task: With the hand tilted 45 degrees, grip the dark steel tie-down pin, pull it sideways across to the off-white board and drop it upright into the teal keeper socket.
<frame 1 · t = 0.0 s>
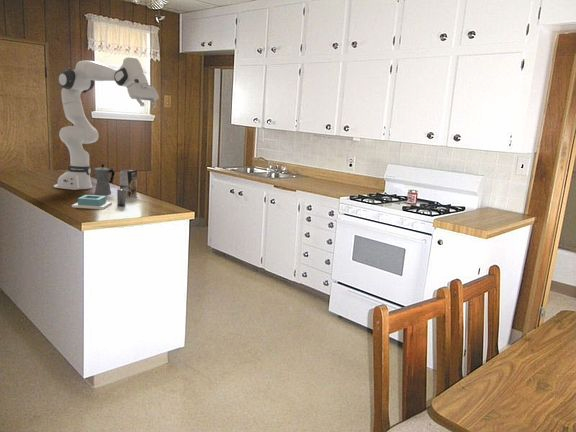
hand: (148, 106, 262), 54 cm above the table, tool tilted 30°, fingers open, 8 cm apart
coffee box: (128, 196, 280), on the table
coffeepot: (104, 193, 283), on the table
steel pin: (121, 206, 252), on the table
keeper board: (92, 205, 247), on the table
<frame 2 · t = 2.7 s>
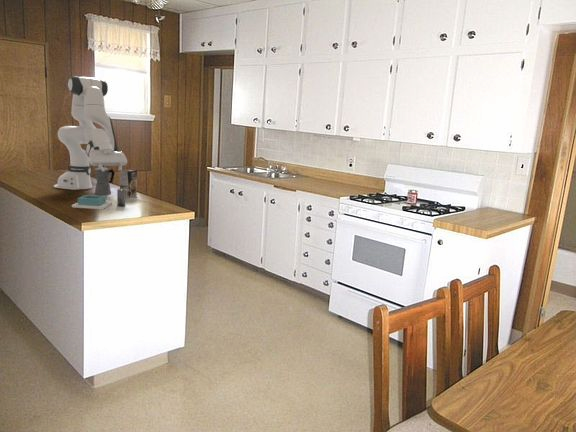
hand: (112, 170, 257), 18 cm above the table, tool tilted 45°, fingers open, 8 cm apart
nothing on the table moved.
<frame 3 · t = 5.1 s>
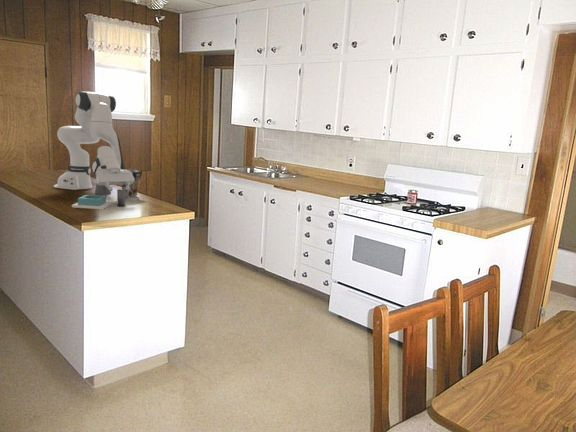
hand: (119, 190, 252), 9 cm above the table, tool tilted 45°, fingers open, 8 cm apart
coffee box: (128, 195, 279), on the table, touching arm
everything else where it was.
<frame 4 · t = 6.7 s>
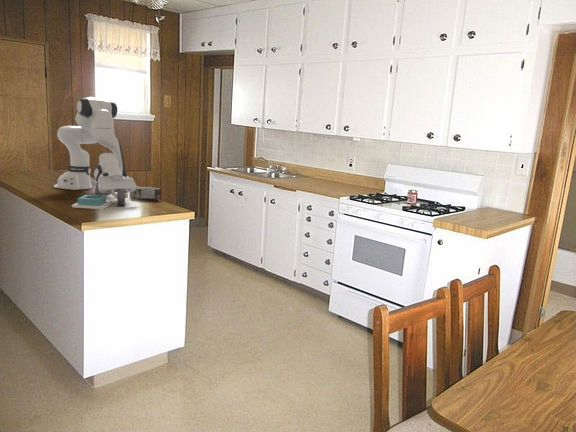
hand: (121, 197, 251), 5 cm above the table, tool tilted 45°, fingers closed on steel pin, 4 cm apart
coffee box: (133, 191, 278), point 3 cm above the table
steel pin: (121, 206, 252), on the table, touching gripper
everything else where it was.
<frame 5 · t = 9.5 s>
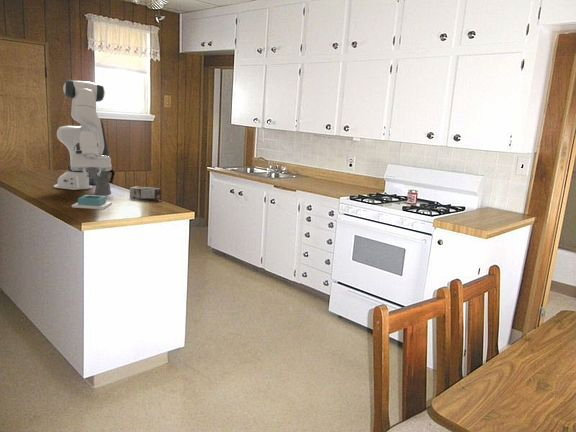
hand: (92, 176, 244), 16 cm above the table, tool tilted 45°, fingers closed on steel pin, 4 cm apart
steel pin: (92, 184, 245), point 11 cm above the table, touching gripper
everything else where it was.
when the fingers open (7 cm above the table, at t = 12.1 s): steel pin drops 1 cm, resting on keeper board.
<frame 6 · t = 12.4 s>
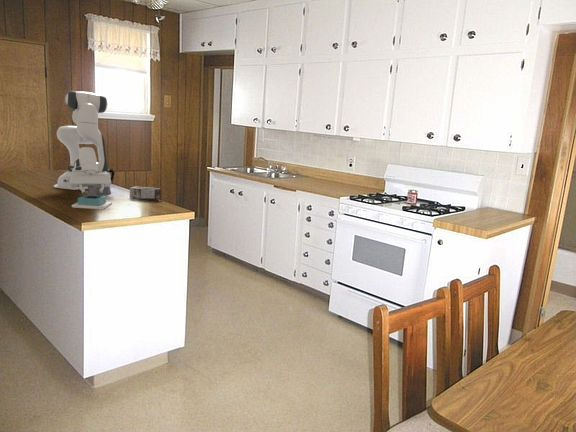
hand: (92, 192, 245), 7 cm above the table, tool tilted 45°, fingers open, 7 cm apart
steel pin: (92, 203, 247), point 1 cm above the table, touching keeper board
everything else where it was.
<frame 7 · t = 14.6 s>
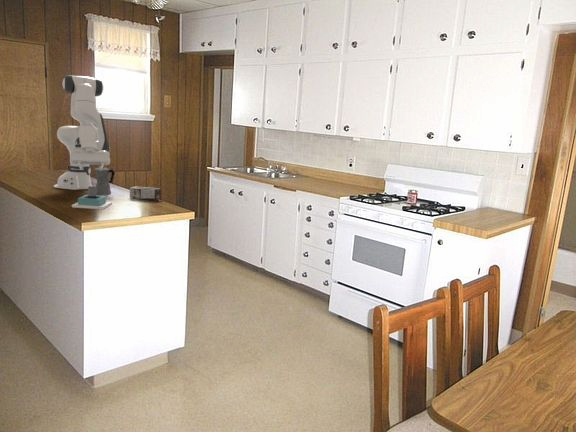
hand: (91, 169, 248), 19 cm above the table, tool tilted 45°, fingers open, 8 cm apart
nothing on the table moved.
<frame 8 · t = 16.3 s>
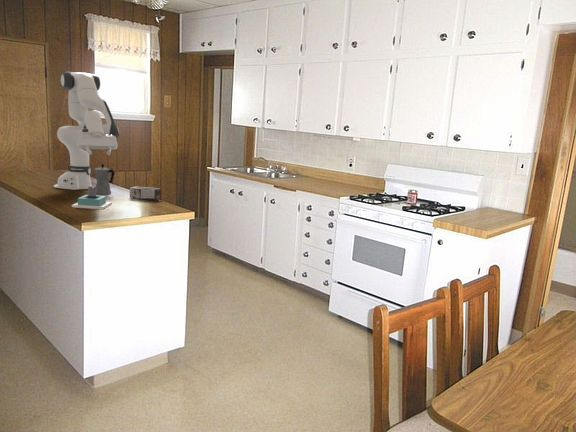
hand: (99, 154, 247), 27 cm above the table, tool tilted 45°, fingers open, 8 cm apart
nothing on the table moved.
at the end: steel pin 0.1 cm off-centre on the keeper board, point 1.2 cm above the keeper board's base; steel pin tilted 0°; the gripper is holding nothing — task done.
